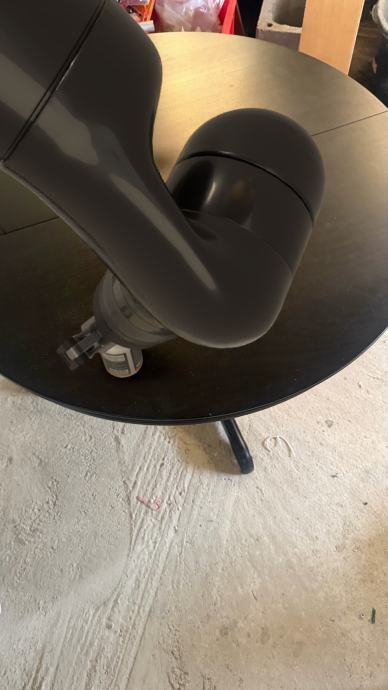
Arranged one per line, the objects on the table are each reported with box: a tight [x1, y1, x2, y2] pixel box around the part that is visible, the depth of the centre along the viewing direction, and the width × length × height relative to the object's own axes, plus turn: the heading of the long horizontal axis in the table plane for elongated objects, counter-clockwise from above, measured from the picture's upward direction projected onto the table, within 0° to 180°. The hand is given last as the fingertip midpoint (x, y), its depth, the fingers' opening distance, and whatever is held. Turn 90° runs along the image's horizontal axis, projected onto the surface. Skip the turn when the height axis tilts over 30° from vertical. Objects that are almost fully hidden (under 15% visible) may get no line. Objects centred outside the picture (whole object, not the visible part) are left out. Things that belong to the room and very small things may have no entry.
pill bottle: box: [100, 345, 144, 378], centre depth 67 cm, size 6×6×10 cm
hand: (114, 324), depth 52 cm, fingers open, 8 cm apart
